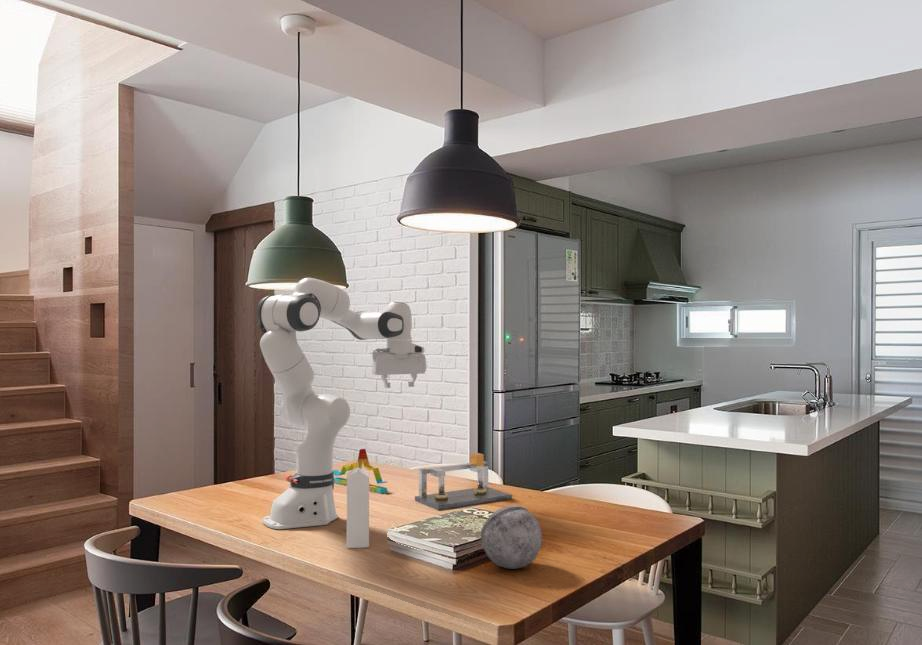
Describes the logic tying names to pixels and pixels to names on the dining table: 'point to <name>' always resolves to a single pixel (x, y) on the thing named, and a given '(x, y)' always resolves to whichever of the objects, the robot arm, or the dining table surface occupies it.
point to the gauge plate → (460, 496)
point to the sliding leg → (478, 466)
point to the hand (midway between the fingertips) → (399, 387)
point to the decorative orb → (511, 537)
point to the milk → (357, 509)
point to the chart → (361, 459)
